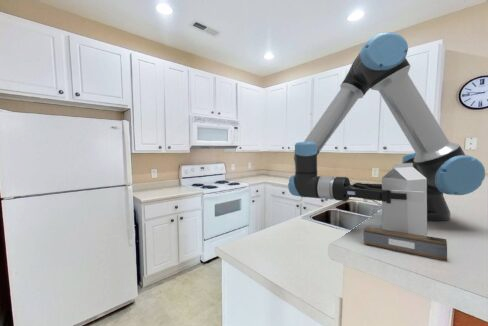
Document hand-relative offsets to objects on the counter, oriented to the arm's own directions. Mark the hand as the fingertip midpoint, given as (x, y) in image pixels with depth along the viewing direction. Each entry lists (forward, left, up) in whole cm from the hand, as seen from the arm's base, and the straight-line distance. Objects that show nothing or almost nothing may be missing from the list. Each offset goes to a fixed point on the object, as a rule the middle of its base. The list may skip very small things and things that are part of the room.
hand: (424, 194), depth 56 cm
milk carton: (+2, -4, -11) cm, 12 cm away
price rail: (+9, 0, -13) cm, 16 cm away
